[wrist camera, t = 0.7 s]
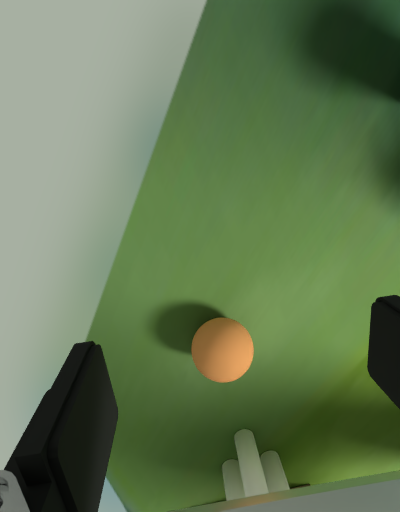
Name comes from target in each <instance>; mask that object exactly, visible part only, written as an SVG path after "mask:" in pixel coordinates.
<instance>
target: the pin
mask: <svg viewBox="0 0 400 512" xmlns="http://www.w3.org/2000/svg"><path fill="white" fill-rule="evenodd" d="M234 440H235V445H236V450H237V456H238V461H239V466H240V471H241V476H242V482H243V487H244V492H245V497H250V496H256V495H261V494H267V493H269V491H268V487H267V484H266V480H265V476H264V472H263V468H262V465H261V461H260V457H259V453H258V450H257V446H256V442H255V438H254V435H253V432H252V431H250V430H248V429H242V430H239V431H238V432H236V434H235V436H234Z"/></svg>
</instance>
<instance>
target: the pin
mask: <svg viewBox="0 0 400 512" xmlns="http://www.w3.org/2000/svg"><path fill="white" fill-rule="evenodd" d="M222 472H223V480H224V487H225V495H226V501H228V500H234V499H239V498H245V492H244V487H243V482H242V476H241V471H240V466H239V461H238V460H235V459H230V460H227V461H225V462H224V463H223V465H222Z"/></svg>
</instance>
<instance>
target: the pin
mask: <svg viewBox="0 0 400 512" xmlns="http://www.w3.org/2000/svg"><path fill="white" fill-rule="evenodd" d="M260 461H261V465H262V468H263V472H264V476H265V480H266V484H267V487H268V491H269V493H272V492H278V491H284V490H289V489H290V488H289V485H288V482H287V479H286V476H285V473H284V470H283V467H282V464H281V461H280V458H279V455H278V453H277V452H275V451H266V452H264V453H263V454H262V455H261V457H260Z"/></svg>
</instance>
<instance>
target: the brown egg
mask: <svg viewBox="0 0 400 512" xmlns="http://www.w3.org/2000/svg"><path fill="white" fill-rule="evenodd" d="M191 350H192V357H193V361H194V363H195V365H196V367H197V369H198V370H199V371H200V372H201V373H202V374H203V375H204V376H205V377H207V378H208V379H210V380H213V381H216V382H230V381H234V380H236V379H238V378H240V377H241V376H242V375H243V374H244V373H245V372H246V371H247V370H248V368H249V367H250V364H251V362H252V359H253V353H254V349H253V342H252V339H251V337H250V335H249V333H248V331H247V330H246V329H245V328H244V327H243V326H242V325H241V324H240V323H238V322H237V321H235V320H232V319H229V318H214V319H211V320H209V321H207V322H206V323H204V324H203V325H202V326H201V327H200V328H199V329H198V330H197V332H196V334H195V335H194V338H193V341H192V349H191Z"/></svg>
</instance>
